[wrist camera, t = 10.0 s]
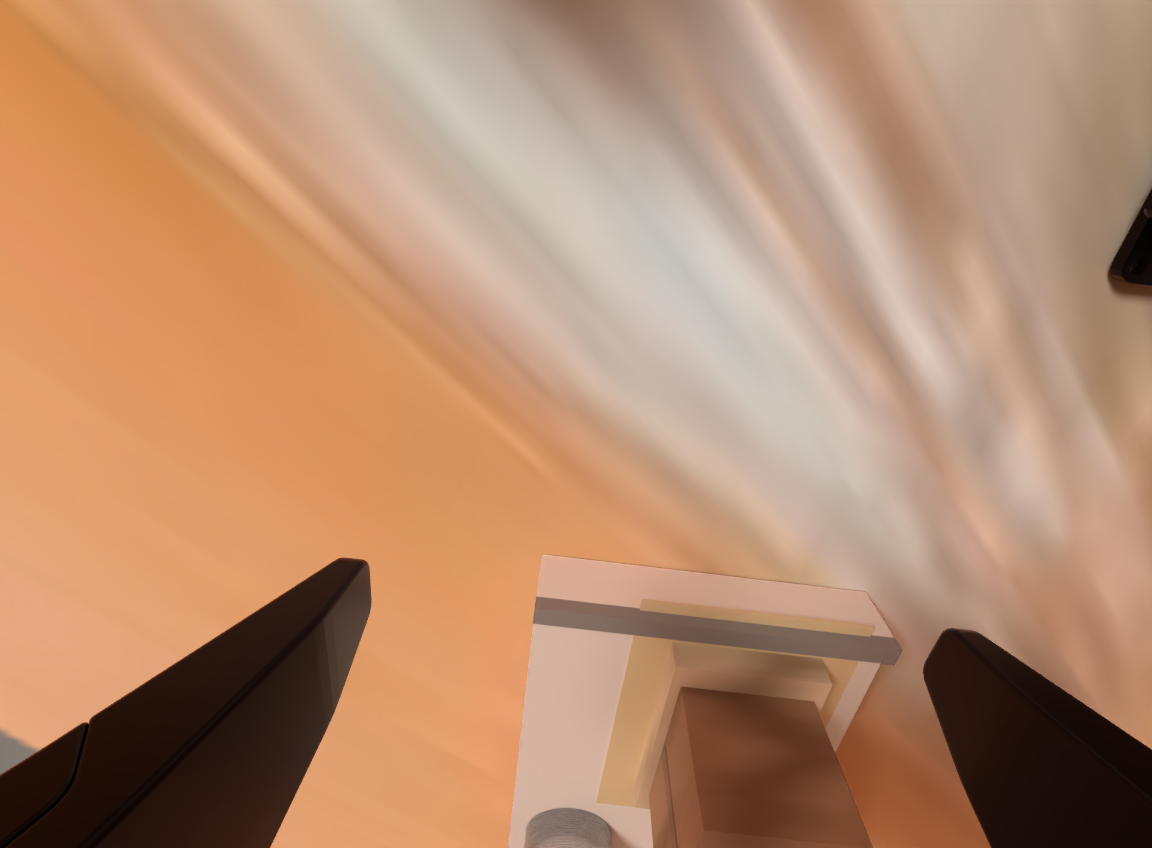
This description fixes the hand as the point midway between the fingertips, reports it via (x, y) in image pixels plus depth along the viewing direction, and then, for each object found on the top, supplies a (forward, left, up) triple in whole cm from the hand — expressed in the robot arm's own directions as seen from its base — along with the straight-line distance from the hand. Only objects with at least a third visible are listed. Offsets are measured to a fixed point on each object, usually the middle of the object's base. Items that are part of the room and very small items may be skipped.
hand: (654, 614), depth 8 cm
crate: (-6, +15, -9) cm, 19 cm away
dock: (-5, +18, -12) cm, 22 cm away
